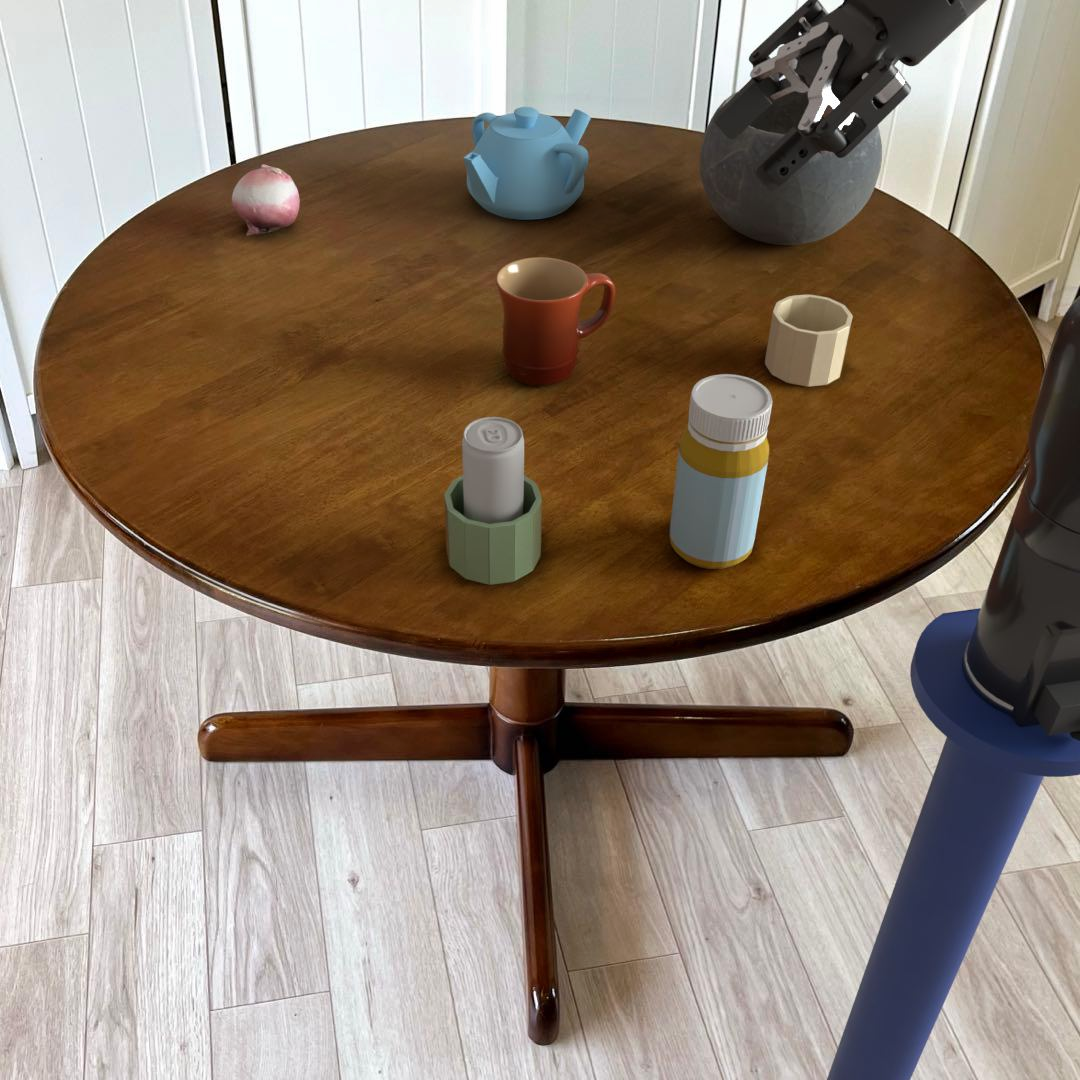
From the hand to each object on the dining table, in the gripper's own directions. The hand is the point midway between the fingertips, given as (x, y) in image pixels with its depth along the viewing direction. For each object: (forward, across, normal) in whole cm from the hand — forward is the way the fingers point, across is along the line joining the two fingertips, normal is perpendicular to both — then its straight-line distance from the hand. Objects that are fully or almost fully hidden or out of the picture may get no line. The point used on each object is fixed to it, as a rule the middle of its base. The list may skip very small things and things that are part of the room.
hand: (740, 154), depth 85 cm
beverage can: (+36, +1, +11) cm, 37 cm away
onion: (+47, -62, -1) cm, 78 cm away
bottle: (+23, +3, +24) cm, 33 cm away
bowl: (+5, -51, +42) cm, 66 cm away
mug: (+28, -26, +18) cm, 42 cm away
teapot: (+24, -65, +22) cm, 73 cm away
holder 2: (+10, -22, +36) cm, 43 cm away
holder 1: (+36, +1, +11) cm, 37 cm away
